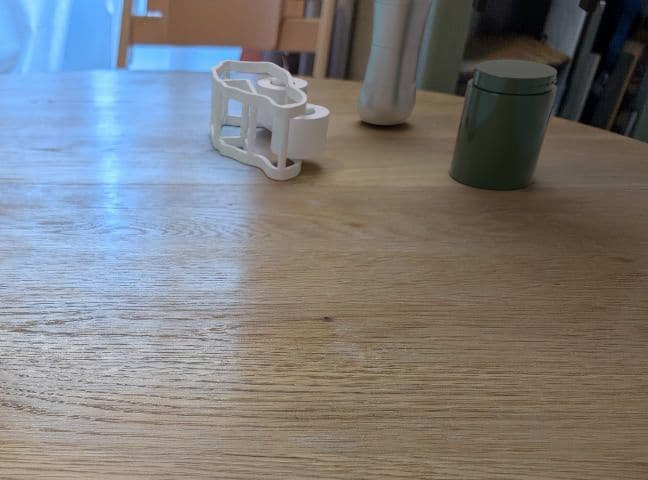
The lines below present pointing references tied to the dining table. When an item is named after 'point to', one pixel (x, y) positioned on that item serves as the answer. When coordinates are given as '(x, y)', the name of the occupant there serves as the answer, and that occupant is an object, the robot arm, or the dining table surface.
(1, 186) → the dining table surface
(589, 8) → the robot arm
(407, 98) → the plastic bottle
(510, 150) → the green jar
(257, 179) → the dining table surface
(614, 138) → the dining table surface
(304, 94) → the car outline toy
